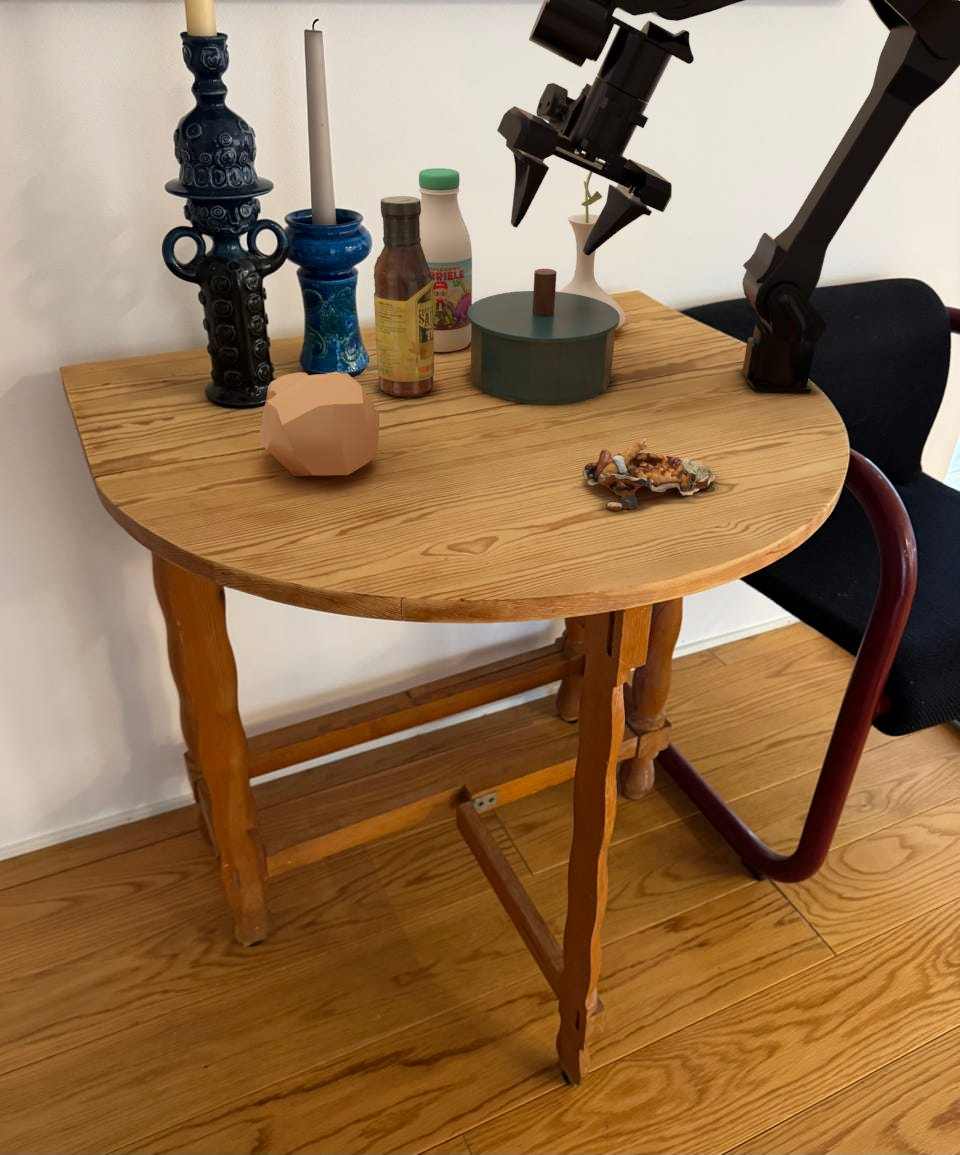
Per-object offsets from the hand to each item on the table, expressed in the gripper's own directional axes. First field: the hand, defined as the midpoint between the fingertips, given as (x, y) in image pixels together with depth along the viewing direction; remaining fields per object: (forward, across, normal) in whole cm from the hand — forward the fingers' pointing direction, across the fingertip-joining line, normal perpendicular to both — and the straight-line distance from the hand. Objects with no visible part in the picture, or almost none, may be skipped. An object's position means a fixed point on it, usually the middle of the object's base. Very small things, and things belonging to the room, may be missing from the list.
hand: (550, 240), depth 100 cm
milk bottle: (+19, +1, -12) cm, 23 cm away
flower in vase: (+12, -17, -13) cm, 24 cm away
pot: (+14, -6, +2) cm, 15 cm away
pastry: (+11, -4, +29) cm, 32 cm away
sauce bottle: (+20, +9, +1) cm, 22 cm away
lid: (+8, -3, +1) cm, 8 cm away
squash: (+24, +21, +14) cm, 34 cm away
